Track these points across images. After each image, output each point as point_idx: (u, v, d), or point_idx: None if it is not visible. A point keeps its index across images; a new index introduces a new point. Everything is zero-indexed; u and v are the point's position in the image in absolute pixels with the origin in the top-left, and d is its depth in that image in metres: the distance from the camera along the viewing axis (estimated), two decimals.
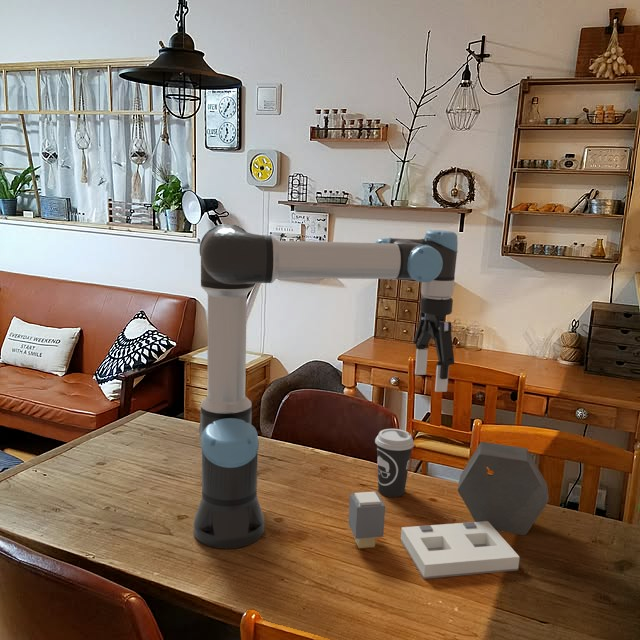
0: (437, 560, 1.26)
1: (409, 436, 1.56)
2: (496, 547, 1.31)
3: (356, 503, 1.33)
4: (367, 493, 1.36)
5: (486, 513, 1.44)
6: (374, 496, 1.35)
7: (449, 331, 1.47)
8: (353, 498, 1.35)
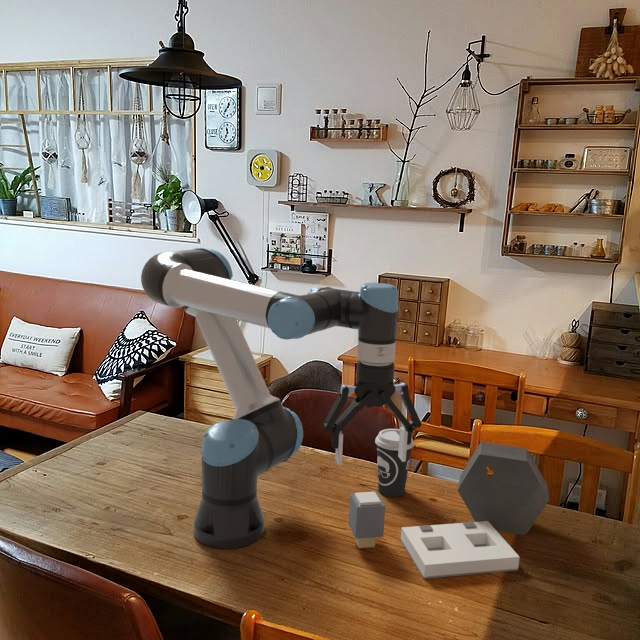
0: (437, 560, 1.26)
1: None
2: (496, 547, 1.31)
3: (356, 503, 1.33)
4: (367, 493, 1.36)
5: (486, 513, 1.44)
6: (374, 496, 1.35)
7: (341, 396, 1.27)
8: (353, 498, 1.35)
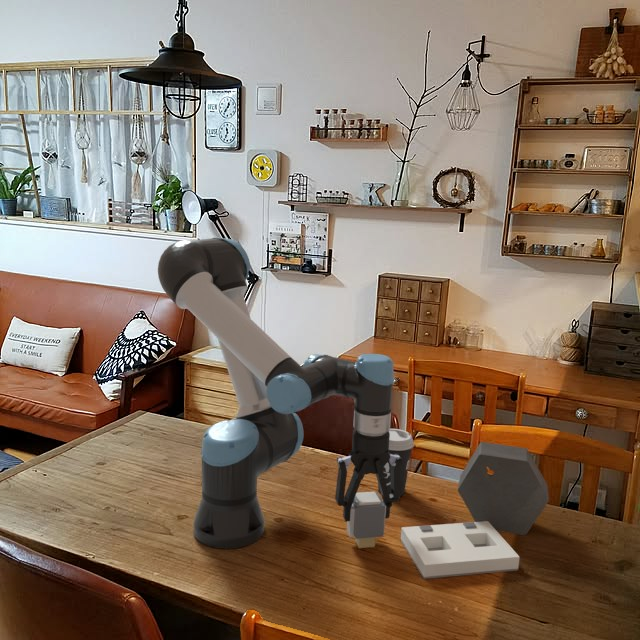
0: (437, 560, 1.26)
1: (409, 436, 1.56)
2: (496, 547, 1.31)
3: (356, 503, 1.33)
4: (367, 493, 1.36)
5: (486, 513, 1.44)
6: (374, 496, 1.35)
7: (340, 470, 1.31)
8: None
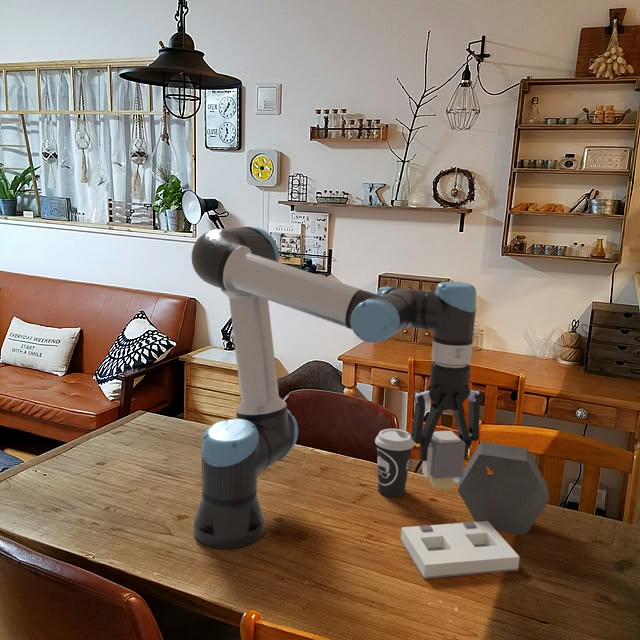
0: (437, 560, 1.26)
1: (409, 436, 1.56)
2: (496, 547, 1.31)
3: (434, 441, 1.25)
4: (444, 432, 1.29)
5: (486, 513, 1.44)
6: (451, 434, 1.28)
7: (418, 406, 1.24)
8: None
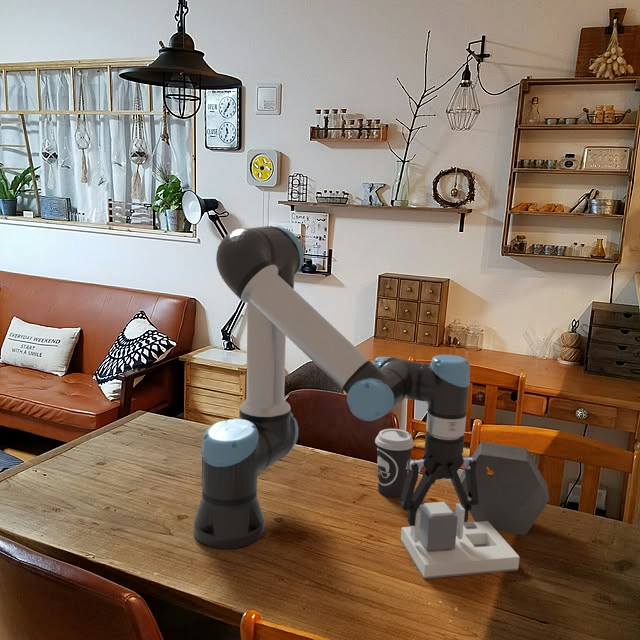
0: (437, 560, 1.26)
1: (409, 436, 1.56)
2: (496, 547, 1.31)
3: (427, 514, 1.29)
4: (437, 503, 1.32)
5: (486, 513, 1.44)
6: (444, 506, 1.31)
7: (411, 473, 1.26)
8: (423, 509, 1.31)
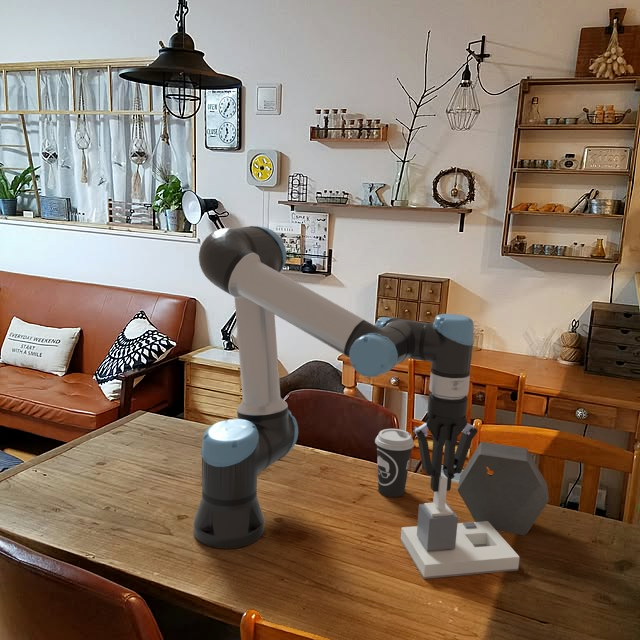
0: (437, 560, 1.26)
1: (409, 436, 1.56)
2: (496, 547, 1.31)
3: (428, 514, 1.29)
4: None
5: (486, 513, 1.44)
6: (445, 506, 1.31)
7: (420, 440, 1.25)
8: (423, 508, 1.31)
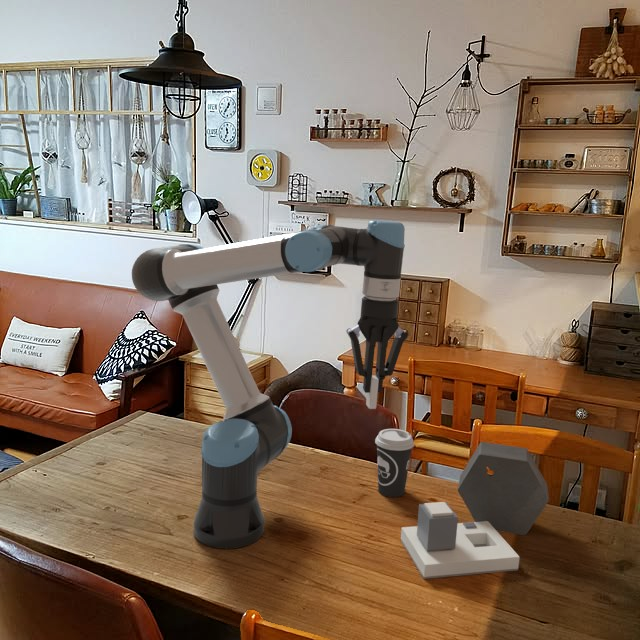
0: (437, 560, 1.26)
1: (409, 436, 1.56)
2: (496, 547, 1.31)
3: (428, 514, 1.29)
4: (437, 503, 1.32)
5: (486, 513, 1.44)
6: (445, 506, 1.31)
7: (352, 341, 1.31)
8: (423, 508, 1.31)
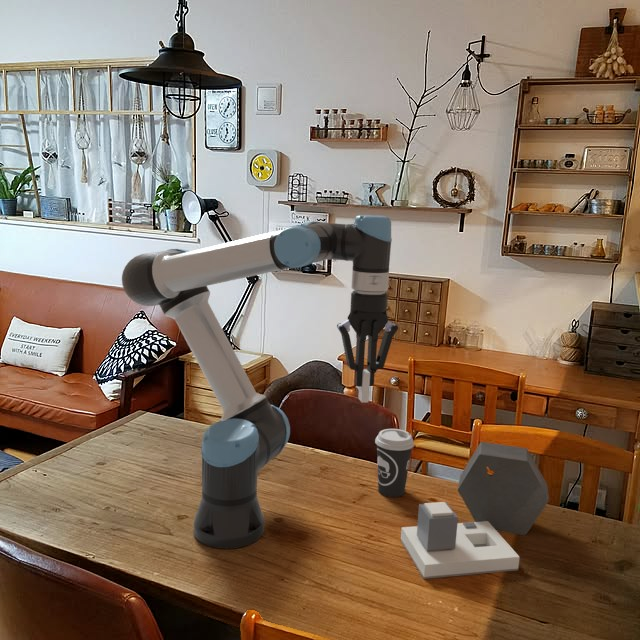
0: (437, 560, 1.26)
1: (409, 436, 1.56)
2: (496, 547, 1.31)
3: (428, 514, 1.29)
4: (437, 503, 1.32)
5: (486, 513, 1.44)
6: (445, 506, 1.31)
7: (343, 335, 1.32)
8: (423, 508, 1.31)
